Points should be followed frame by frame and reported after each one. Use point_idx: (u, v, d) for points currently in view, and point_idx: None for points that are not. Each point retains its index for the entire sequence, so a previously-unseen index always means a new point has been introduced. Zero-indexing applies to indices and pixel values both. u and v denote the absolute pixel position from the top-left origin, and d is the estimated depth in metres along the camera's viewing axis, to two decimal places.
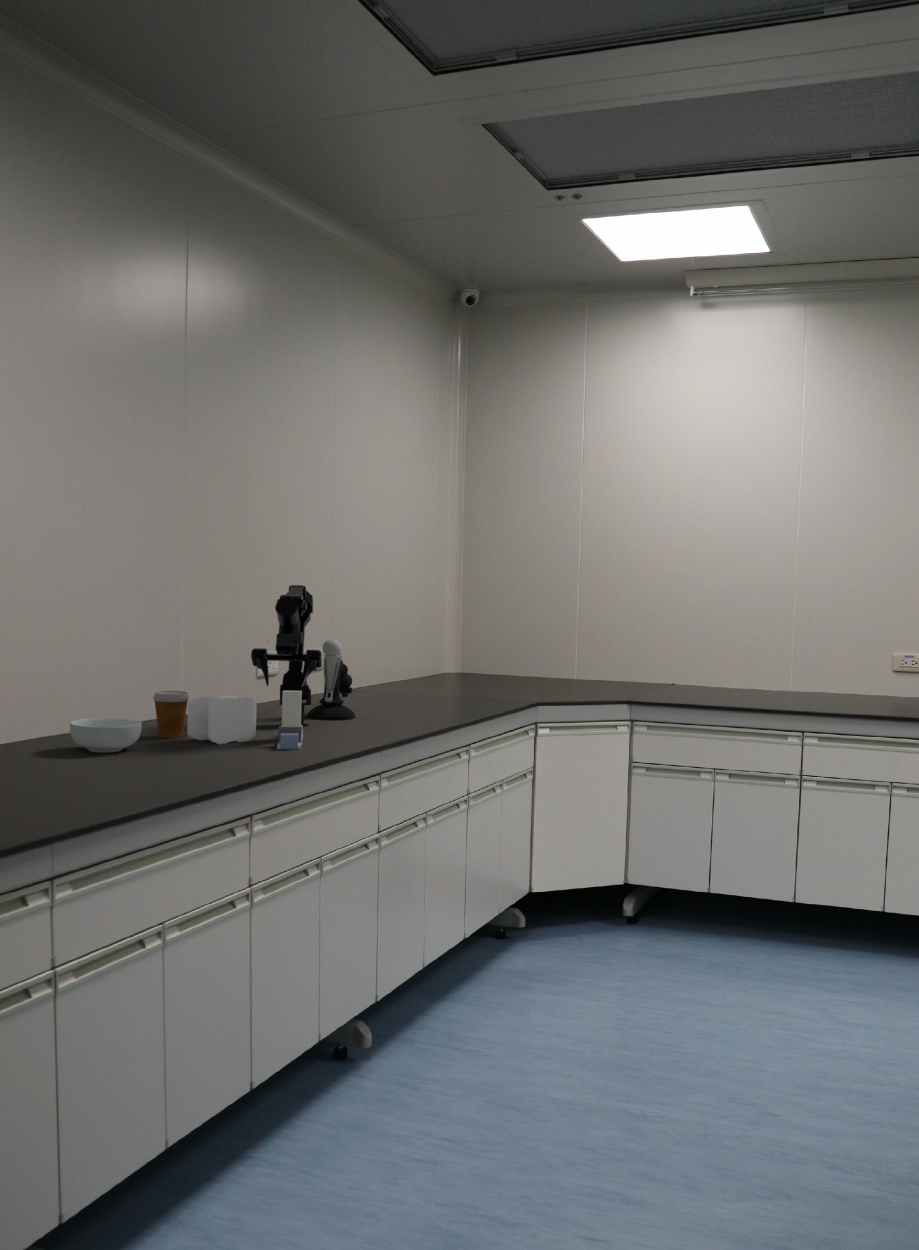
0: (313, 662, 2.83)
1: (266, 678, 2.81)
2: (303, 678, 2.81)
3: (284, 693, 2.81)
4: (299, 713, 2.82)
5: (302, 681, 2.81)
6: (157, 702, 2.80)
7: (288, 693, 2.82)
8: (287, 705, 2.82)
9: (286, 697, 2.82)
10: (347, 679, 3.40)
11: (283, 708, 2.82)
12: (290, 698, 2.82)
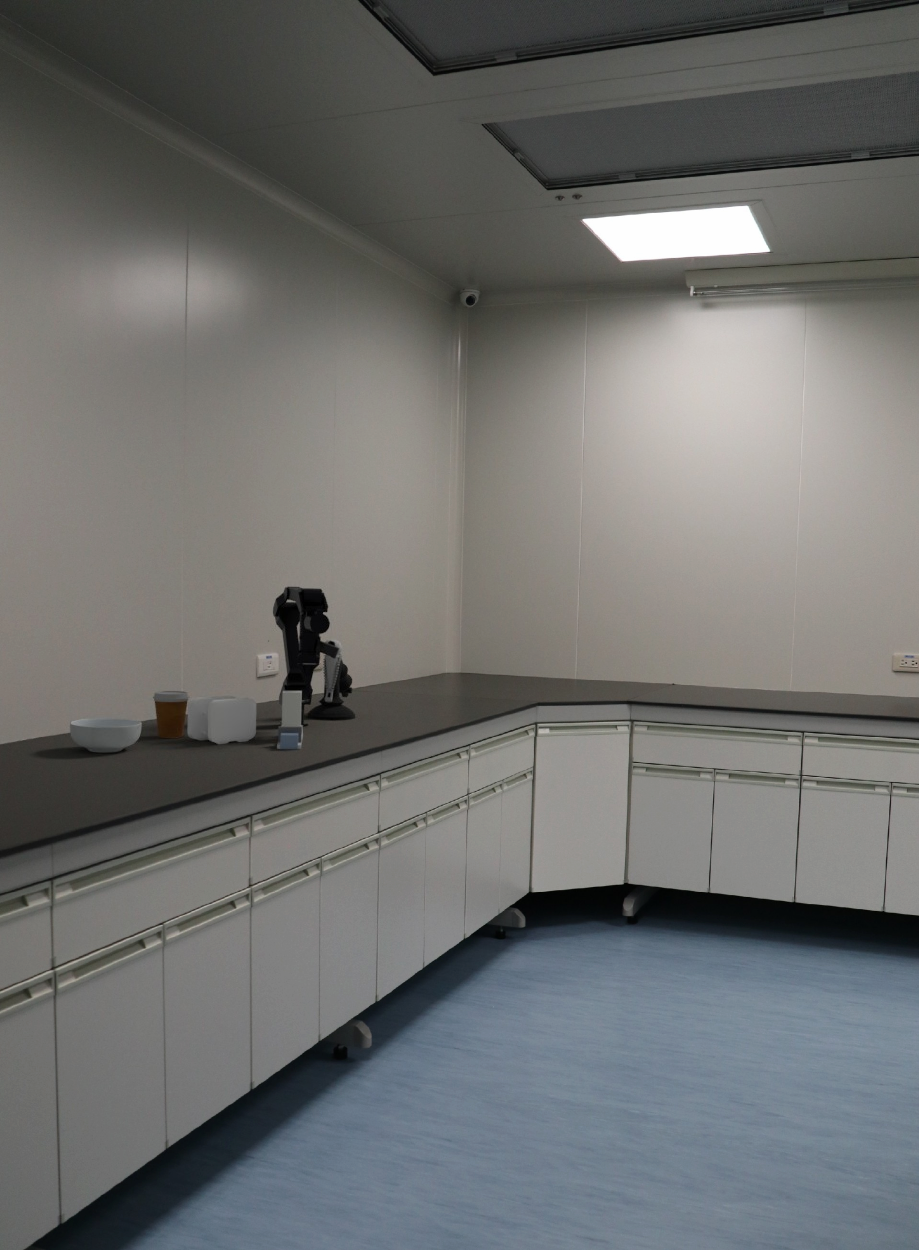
0: None
1: None
2: None
3: (284, 693, 2.81)
4: (299, 713, 2.82)
5: None
6: (157, 702, 2.80)
7: (288, 693, 2.82)
8: (287, 705, 2.82)
9: (286, 697, 2.82)
10: (347, 679, 3.40)
11: (283, 708, 2.82)
12: (290, 698, 2.82)
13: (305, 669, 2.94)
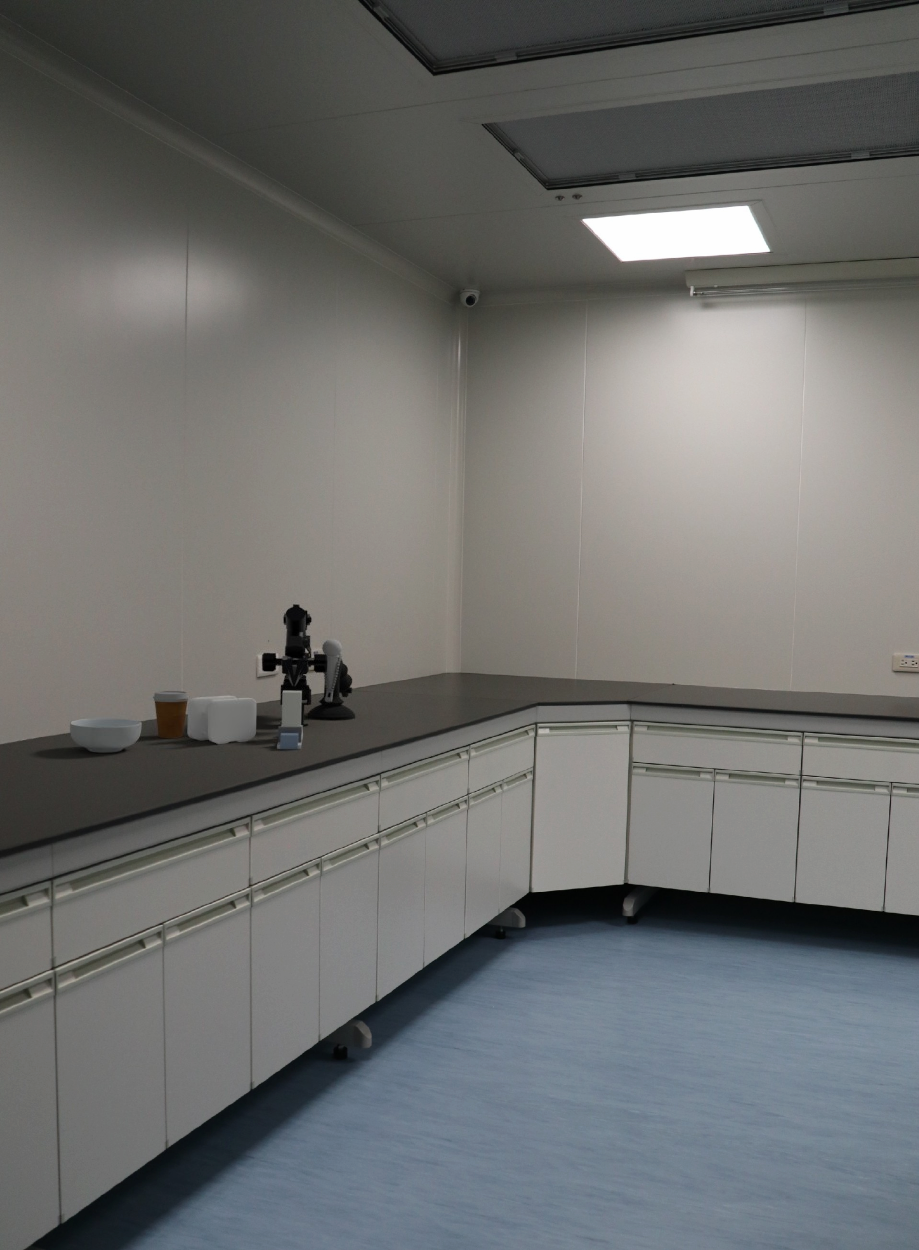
0: (305, 664, 3.01)
1: (292, 679, 2.98)
2: (296, 678, 2.98)
3: (284, 693, 2.81)
4: (299, 713, 2.82)
5: (295, 680, 2.97)
6: (157, 702, 2.80)
7: (288, 693, 2.82)
8: (287, 705, 2.82)
9: (286, 697, 2.82)
10: (347, 679, 3.40)
11: (283, 708, 2.82)
12: (290, 698, 2.82)
13: (289, 672, 3.01)
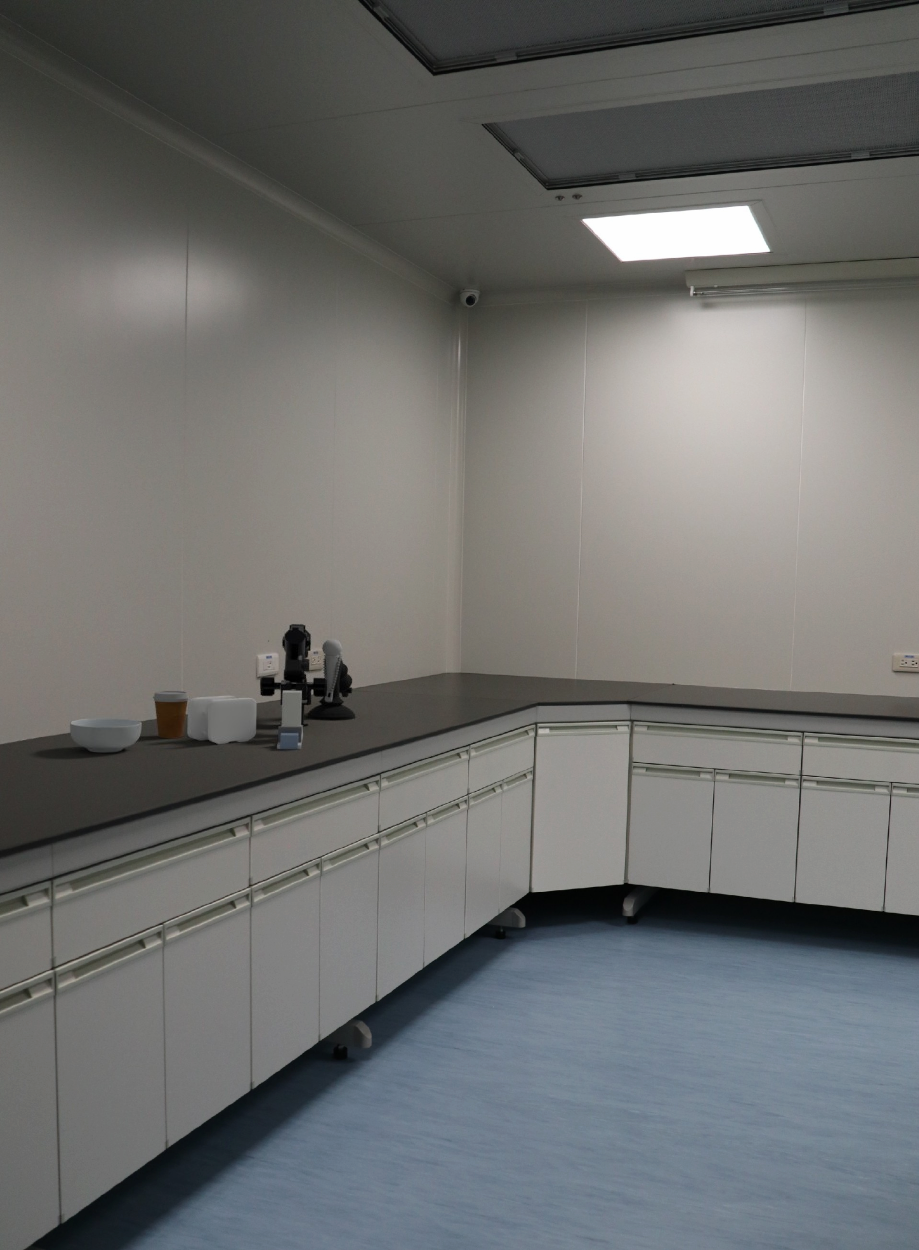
0: (304, 688, 2.94)
1: None
2: None
3: (284, 693, 2.81)
4: (299, 713, 2.82)
5: None
6: (157, 702, 2.80)
7: (288, 693, 2.82)
8: (287, 705, 2.82)
9: (286, 697, 2.82)
10: (347, 679, 3.40)
11: (283, 708, 2.82)
12: (290, 698, 2.82)
13: None
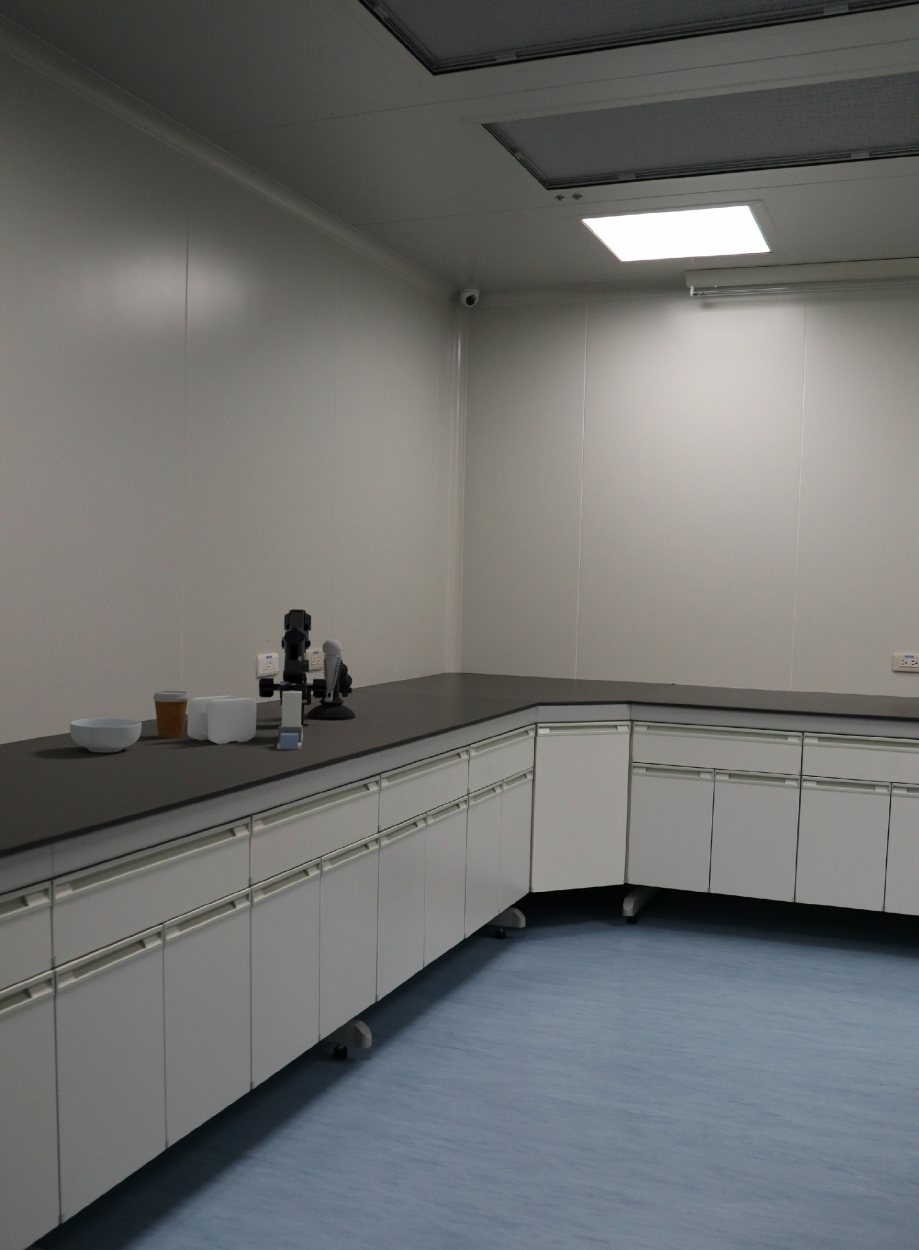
0: (303, 689, 2.90)
1: None
2: None
3: (284, 693, 2.80)
4: (299, 713, 2.81)
5: None
6: (157, 702, 2.80)
7: (288, 693, 2.81)
8: (287, 705, 2.81)
9: (286, 697, 2.81)
10: (347, 679, 3.40)
11: (283, 708, 2.81)
12: (290, 699, 2.81)
13: None
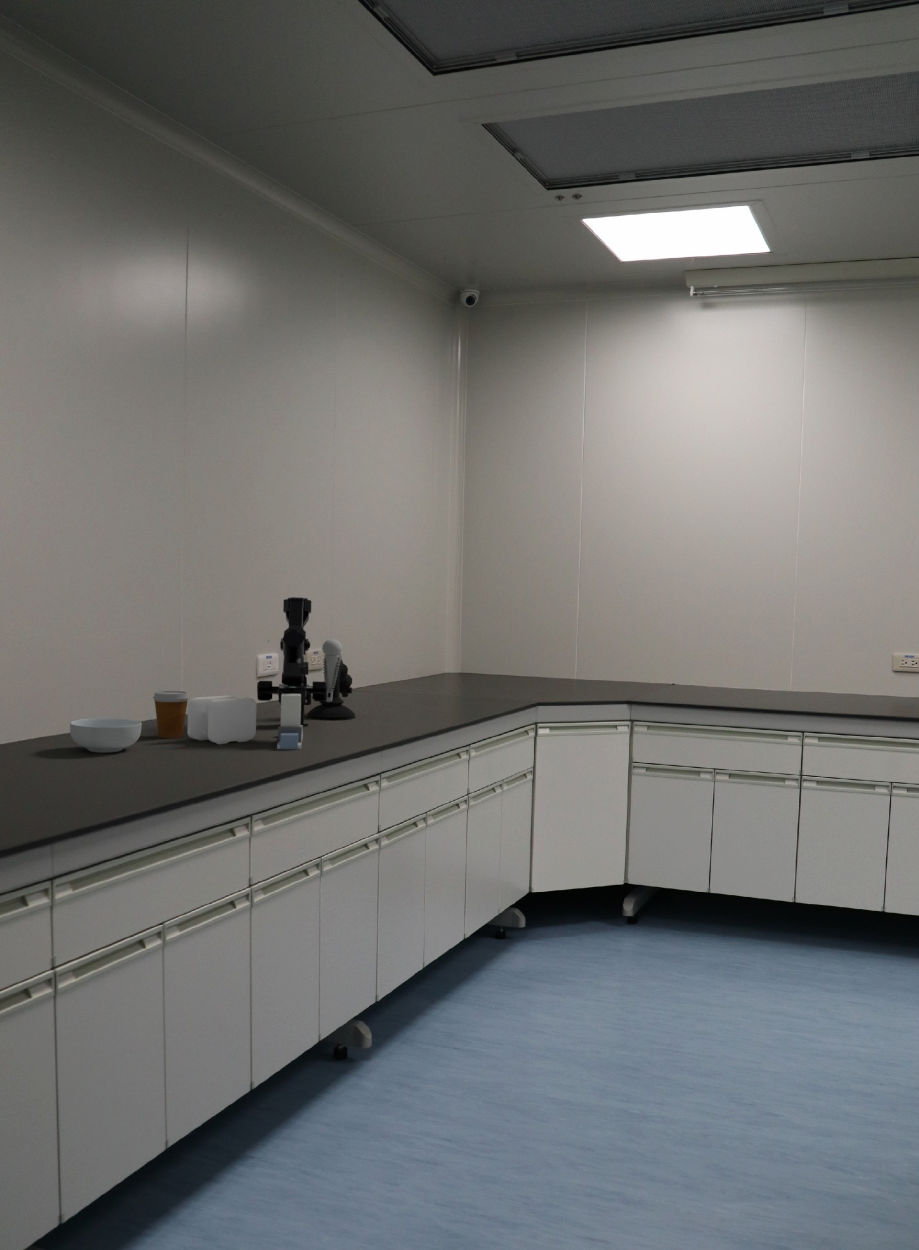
0: (303, 693, 2.83)
1: None
2: None
3: (283, 696, 2.74)
4: (298, 717, 2.74)
5: None
6: (157, 702, 2.80)
7: (287, 696, 2.74)
8: (286, 708, 2.74)
9: (285, 700, 2.74)
10: (347, 679, 3.40)
11: (282, 712, 2.74)
12: (289, 702, 2.74)
13: None
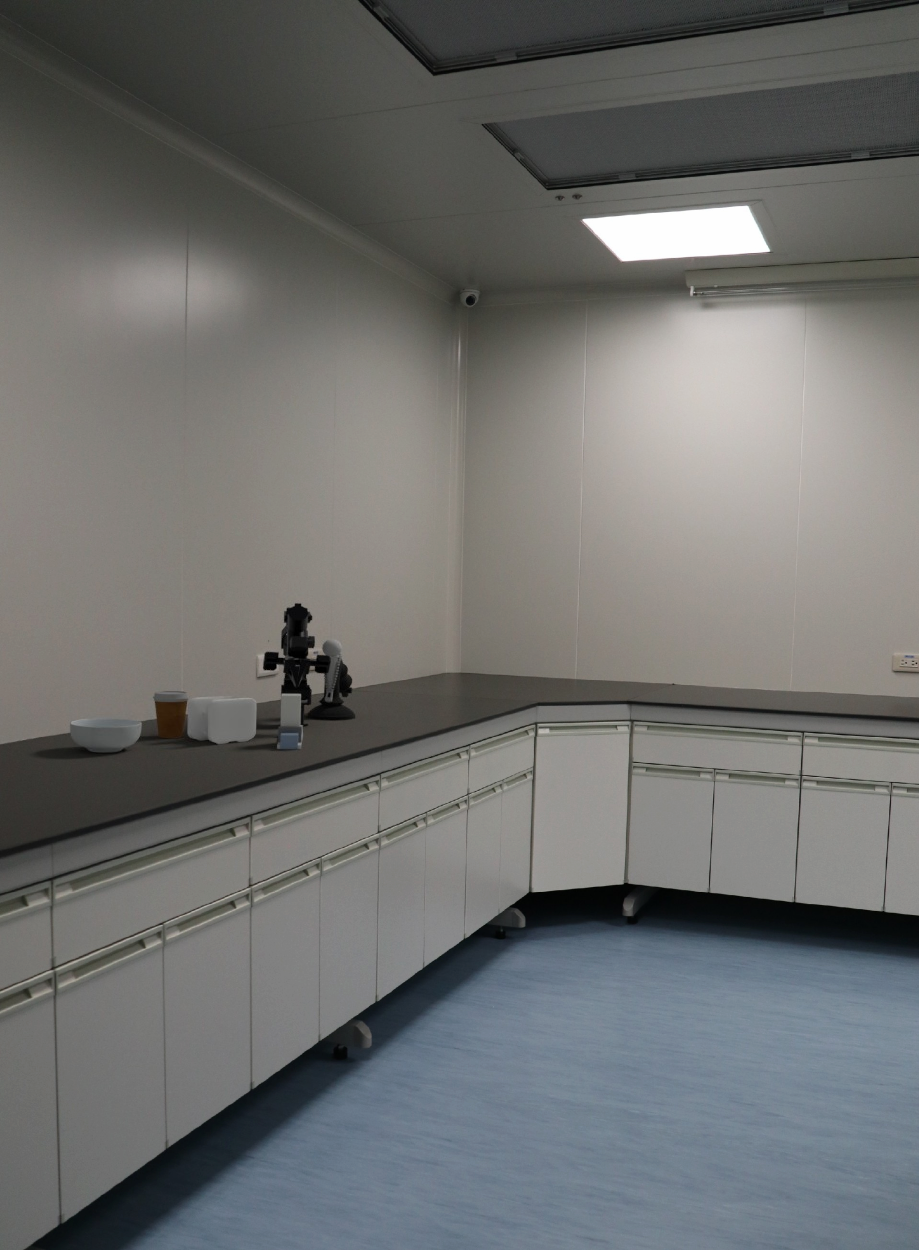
0: (308, 665, 2.97)
1: (295, 679, 2.94)
2: (299, 679, 2.94)
3: (283, 696, 2.73)
4: (298, 717, 2.74)
5: (298, 682, 2.93)
6: (157, 702, 2.80)
7: (287, 696, 2.74)
8: (286, 708, 2.74)
9: (285, 700, 2.74)
10: (347, 679, 3.40)
11: (282, 712, 2.74)
12: (289, 702, 2.74)
13: (291, 672, 2.97)
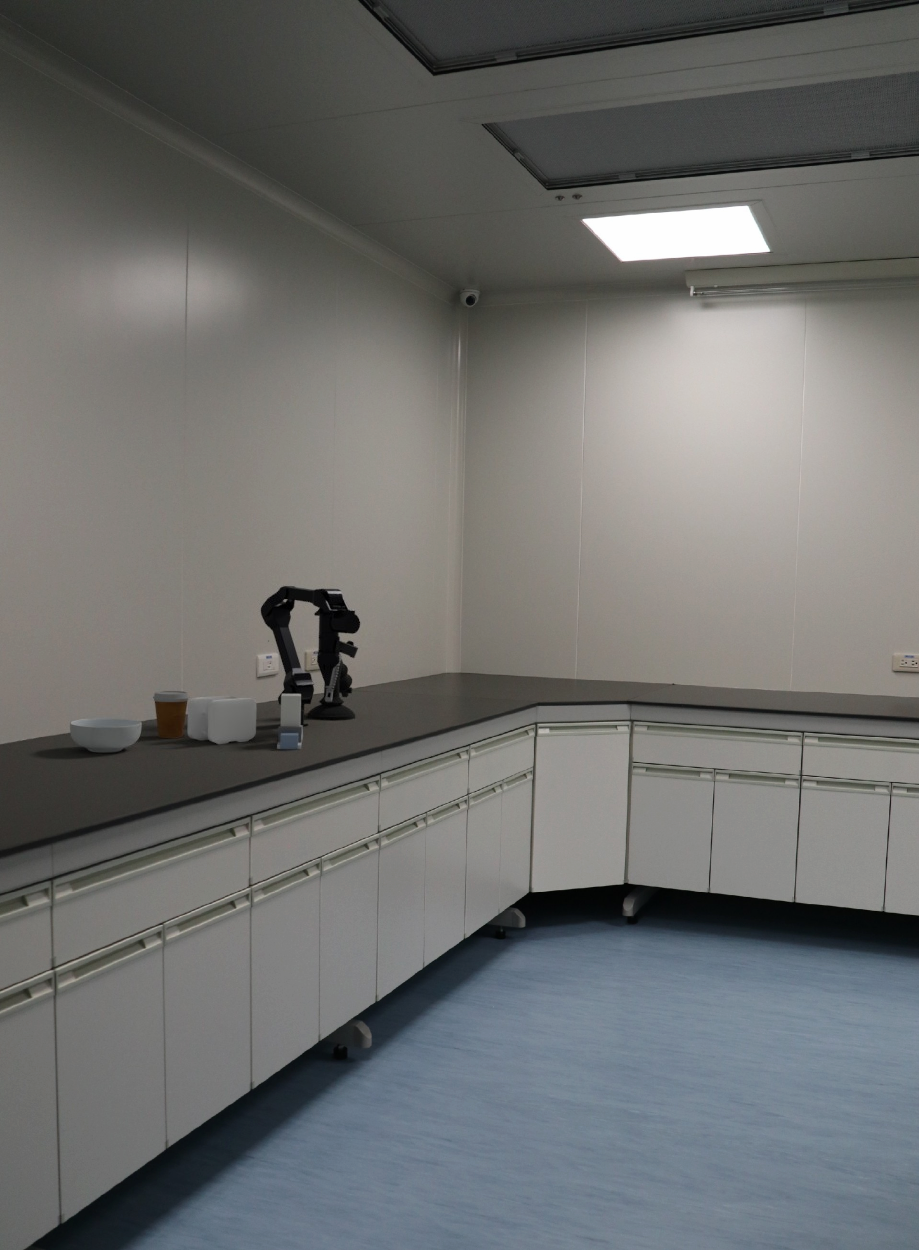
0: None
1: (330, 680, 3.02)
2: None
3: (283, 696, 2.73)
4: (298, 717, 2.74)
5: None
6: (157, 702, 2.80)
7: (287, 696, 2.74)
8: (286, 708, 2.74)
9: (285, 700, 2.74)
10: (347, 679, 3.40)
11: (282, 712, 2.74)
12: (289, 702, 2.74)
13: (325, 668, 3.00)
